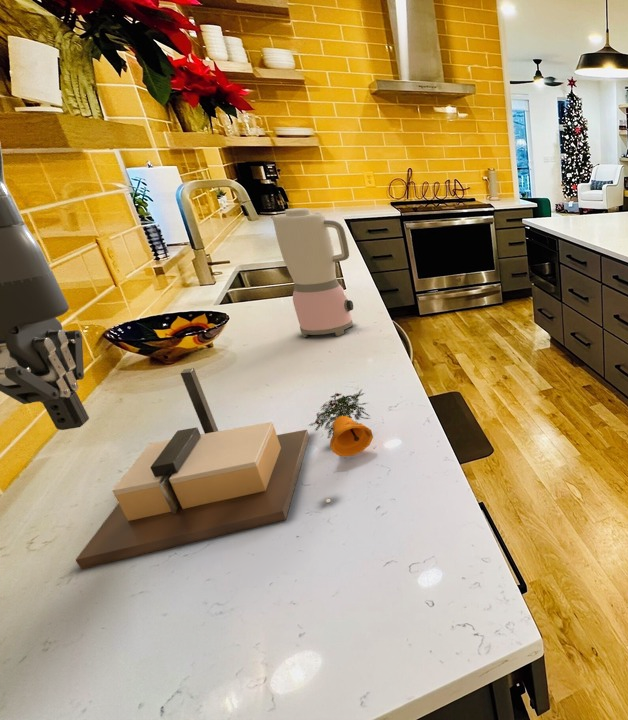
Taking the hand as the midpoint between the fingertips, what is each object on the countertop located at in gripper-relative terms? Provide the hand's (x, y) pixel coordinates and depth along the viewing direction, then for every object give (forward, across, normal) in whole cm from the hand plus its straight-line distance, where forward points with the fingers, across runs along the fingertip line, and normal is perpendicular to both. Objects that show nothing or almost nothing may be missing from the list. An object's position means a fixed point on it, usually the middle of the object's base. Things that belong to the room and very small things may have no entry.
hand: (74, 425), depth 56 cm
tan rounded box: (+17, -10, +8) cm, 21 cm away
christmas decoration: (+18, -11, +24) cm, 32 cm away
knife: (+16, -10, +3) cm, 20 cm away
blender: (+18, -80, +16) cm, 84 cm away
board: (+18, -10, +6) cm, 21 cm away
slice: (+17, -10, 0) cm, 20 cm away
